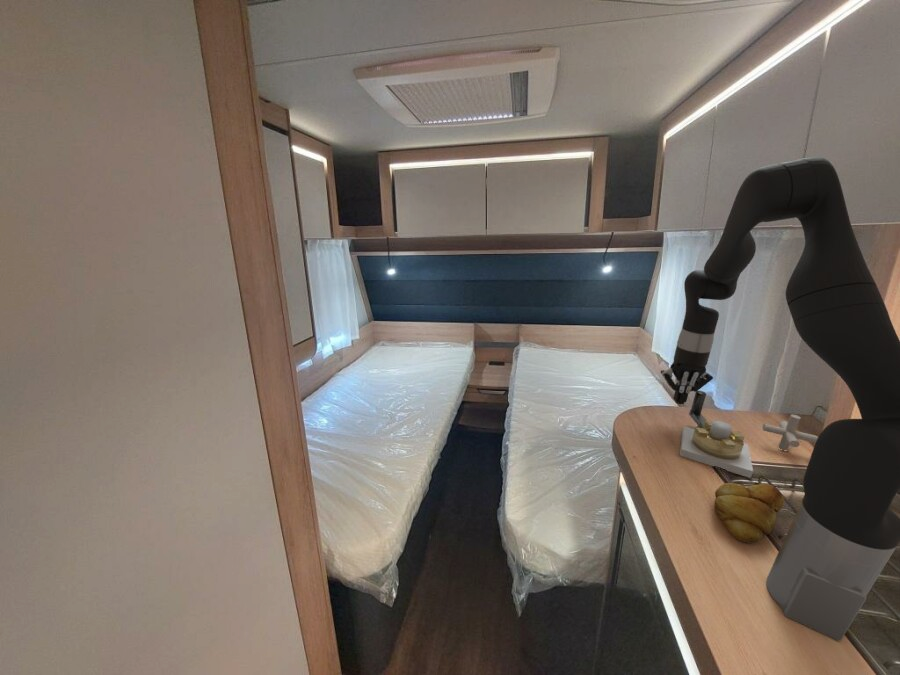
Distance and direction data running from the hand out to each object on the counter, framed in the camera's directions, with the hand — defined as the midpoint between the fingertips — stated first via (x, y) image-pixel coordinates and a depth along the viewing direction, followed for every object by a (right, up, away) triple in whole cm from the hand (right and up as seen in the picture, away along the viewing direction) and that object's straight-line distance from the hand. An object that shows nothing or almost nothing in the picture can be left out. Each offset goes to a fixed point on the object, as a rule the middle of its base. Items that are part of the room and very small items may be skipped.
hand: (679, 402), depth 97 cm
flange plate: (+3, -11, -9) cm, 15 cm away
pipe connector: (+22, -11, -8) cm, 26 cm away
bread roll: (-7, -19, -28) cm, 35 cm away
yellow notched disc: (+3, -8, -6) cm, 10 cm away
